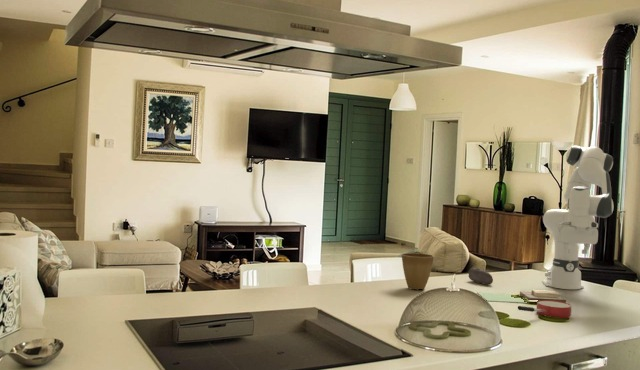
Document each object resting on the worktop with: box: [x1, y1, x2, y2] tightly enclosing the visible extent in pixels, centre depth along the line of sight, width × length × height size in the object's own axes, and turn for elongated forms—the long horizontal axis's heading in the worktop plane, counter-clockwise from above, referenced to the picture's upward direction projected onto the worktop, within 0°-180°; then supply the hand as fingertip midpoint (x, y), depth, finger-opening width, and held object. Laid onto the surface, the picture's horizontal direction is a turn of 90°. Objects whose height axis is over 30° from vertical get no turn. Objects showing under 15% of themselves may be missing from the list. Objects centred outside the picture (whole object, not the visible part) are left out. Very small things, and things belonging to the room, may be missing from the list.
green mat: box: [476, 291, 528, 304], centre depth 278 cm, size 18×18×1 cm
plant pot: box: [401, 252, 435, 290], centre depth 290 cm, size 15×15×16 cm
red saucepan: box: [517, 300, 572, 319], centre depth 243 cm, size 32×13×6 cm, turn 136°
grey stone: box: [468, 267, 494, 286], centre depth 313 cm, size 15×5×7 cm, turn 28°
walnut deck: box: [519, 291, 567, 303], centre depth 278 cm, size 14×16×2 cm
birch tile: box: [531, 289, 560, 298], centre depth 278 cm, size 6×10×2 cm, turn 88°
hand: (575, 253), depth 277 cm, fingers open, 8 cm apart
